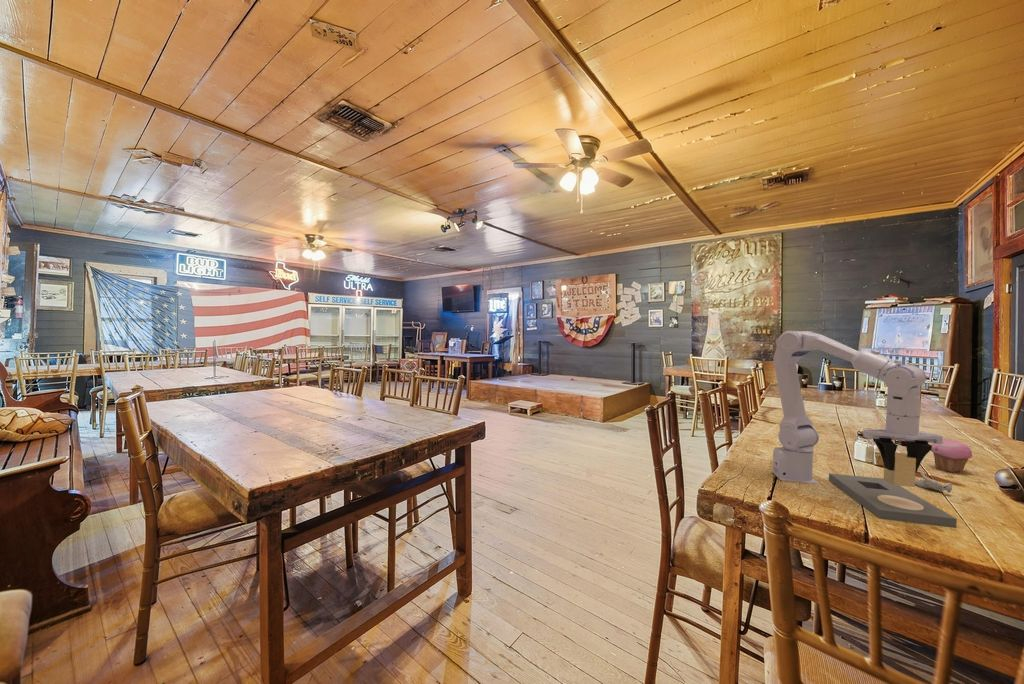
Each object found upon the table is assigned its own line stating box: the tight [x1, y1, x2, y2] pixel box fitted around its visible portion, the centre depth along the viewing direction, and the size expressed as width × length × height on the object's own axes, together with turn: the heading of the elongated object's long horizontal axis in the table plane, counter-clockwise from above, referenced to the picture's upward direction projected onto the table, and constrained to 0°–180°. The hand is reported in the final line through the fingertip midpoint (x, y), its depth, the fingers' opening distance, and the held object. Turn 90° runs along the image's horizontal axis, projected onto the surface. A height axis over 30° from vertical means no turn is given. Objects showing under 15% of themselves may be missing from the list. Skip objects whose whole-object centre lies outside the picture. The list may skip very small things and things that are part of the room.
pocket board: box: [828, 473, 958, 529], centre depth 101 cm, size 14×24×3 cm, turn 163°
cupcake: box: [930, 438, 973, 473], centre depth 124 cm, size 9×9×10 cm
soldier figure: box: [915, 467, 953, 494], centre depth 110 cm, size 8×5×12 cm
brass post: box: [883, 451, 916, 488], centre depth 95 cm, size 4×4×7 cm
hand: (900, 470), depth 95 cm, fingers closed on brass post, 4 cm apart
